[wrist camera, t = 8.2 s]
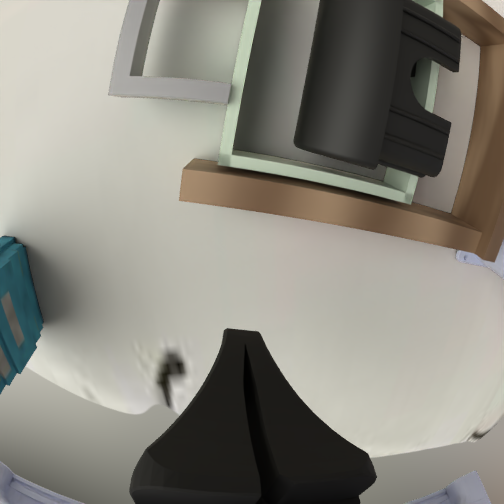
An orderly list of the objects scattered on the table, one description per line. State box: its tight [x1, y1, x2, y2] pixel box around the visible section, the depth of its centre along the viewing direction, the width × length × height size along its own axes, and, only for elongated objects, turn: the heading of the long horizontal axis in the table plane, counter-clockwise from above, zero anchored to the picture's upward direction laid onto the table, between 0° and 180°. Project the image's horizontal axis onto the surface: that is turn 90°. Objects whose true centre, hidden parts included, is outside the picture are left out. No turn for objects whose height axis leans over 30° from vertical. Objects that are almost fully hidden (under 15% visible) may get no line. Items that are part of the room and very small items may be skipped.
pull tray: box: [108, 0, 443, 205], centre depth 13 cm, size 17×14×4 cm
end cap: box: [294, 0, 461, 177], centre depth 13 cm, size 10×7×7 cm
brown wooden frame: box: [179, 0, 504, 263], centre depth 13 cm, size 21×18×5 cm
